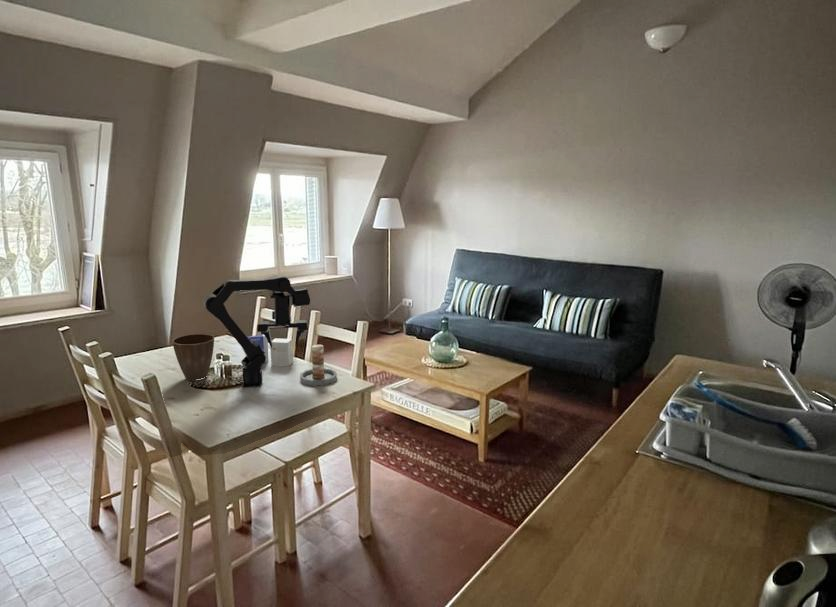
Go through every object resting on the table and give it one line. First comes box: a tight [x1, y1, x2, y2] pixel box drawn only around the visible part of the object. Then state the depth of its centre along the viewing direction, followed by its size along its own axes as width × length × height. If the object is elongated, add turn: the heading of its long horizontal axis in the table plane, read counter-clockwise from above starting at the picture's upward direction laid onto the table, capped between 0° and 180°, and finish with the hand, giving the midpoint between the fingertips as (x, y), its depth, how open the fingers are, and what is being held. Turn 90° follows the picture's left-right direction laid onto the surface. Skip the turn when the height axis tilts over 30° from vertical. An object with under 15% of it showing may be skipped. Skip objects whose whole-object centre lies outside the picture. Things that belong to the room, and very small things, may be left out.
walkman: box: [247, 334, 269, 363], centre depth 211 cm, size 8×3×12 cm, turn 117°
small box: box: [269, 338, 294, 367], centre depth 210 cm, size 8×6×10 cm
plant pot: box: [171, 333, 215, 381], centre depth 191 cm, size 15×15×16 cm
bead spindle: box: [311, 344, 325, 380], centre depth 193 cm, size 5×5×13 cm
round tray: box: [299, 367, 338, 386], centre depth 194 cm, size 14×14×2 cm
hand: (283, 347), depth 191 cm, fingers open, 9 cm apart
